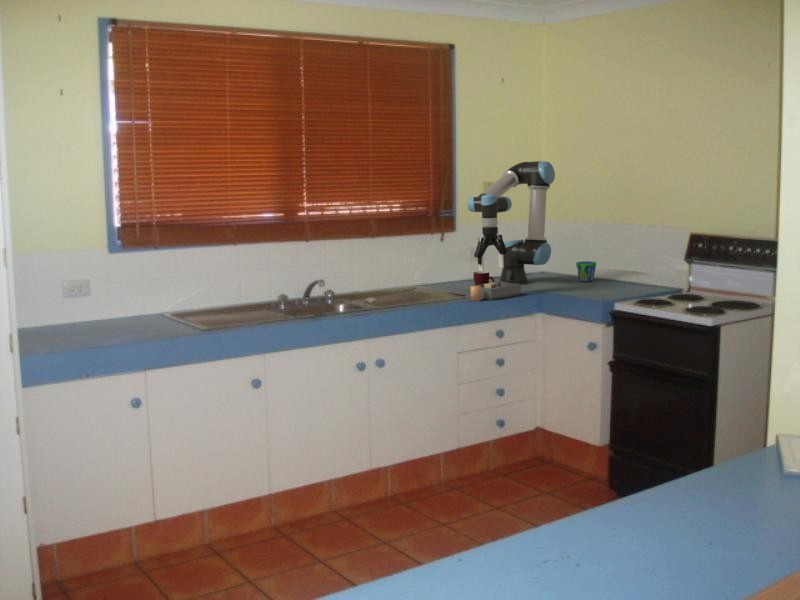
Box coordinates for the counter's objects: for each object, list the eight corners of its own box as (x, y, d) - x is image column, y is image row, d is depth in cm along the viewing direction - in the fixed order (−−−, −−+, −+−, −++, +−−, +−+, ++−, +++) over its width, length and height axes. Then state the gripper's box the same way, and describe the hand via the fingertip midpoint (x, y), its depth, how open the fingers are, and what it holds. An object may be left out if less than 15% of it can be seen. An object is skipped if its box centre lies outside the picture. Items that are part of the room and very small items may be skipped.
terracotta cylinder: (476, 299, 436) (476, 285, 435) (483, 300, 432) (483, 286, 431) (468, 300, 433) (468, 286, 432) (475, 301, 429) (475, 287, 428)
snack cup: (590, 283, 471) (590, 264, 469) (571, 283, 476) (571, 264, 475) (600, 279, 484) (600, 261, 482) (582, 279, 490) (582, 260, 488)
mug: (492, 289, 464) (491, 270, 463) (496, 291, 456) (495, 272, 455) (472, 291, 463) (471, 271, 461) (475, 293, 455) (475, 273, 453)
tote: (500, 292, 455) (499, 281, 454) (521, 295, 443) (521, 284, 442) (470, 297, 443) (470, 286, 442) (491, 300, 431) (491, 289, 430)
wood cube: (491, 292, 448) (491, 282, 448) (498, 293, 445) (498, 283, 444) (484, 293, 445) (484, 283, 445) (491, 294, 442) (491, 284, 441)
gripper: (503, 223, 450) (504, 265, 454) (465, 228, 435) (467, 271, 439) (513, 224, 444) (514, 266, 448) (476, 229, 429) (478, 273, 433)
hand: (491, 269), depth 444 cm, fingers open, 13 cm apart
